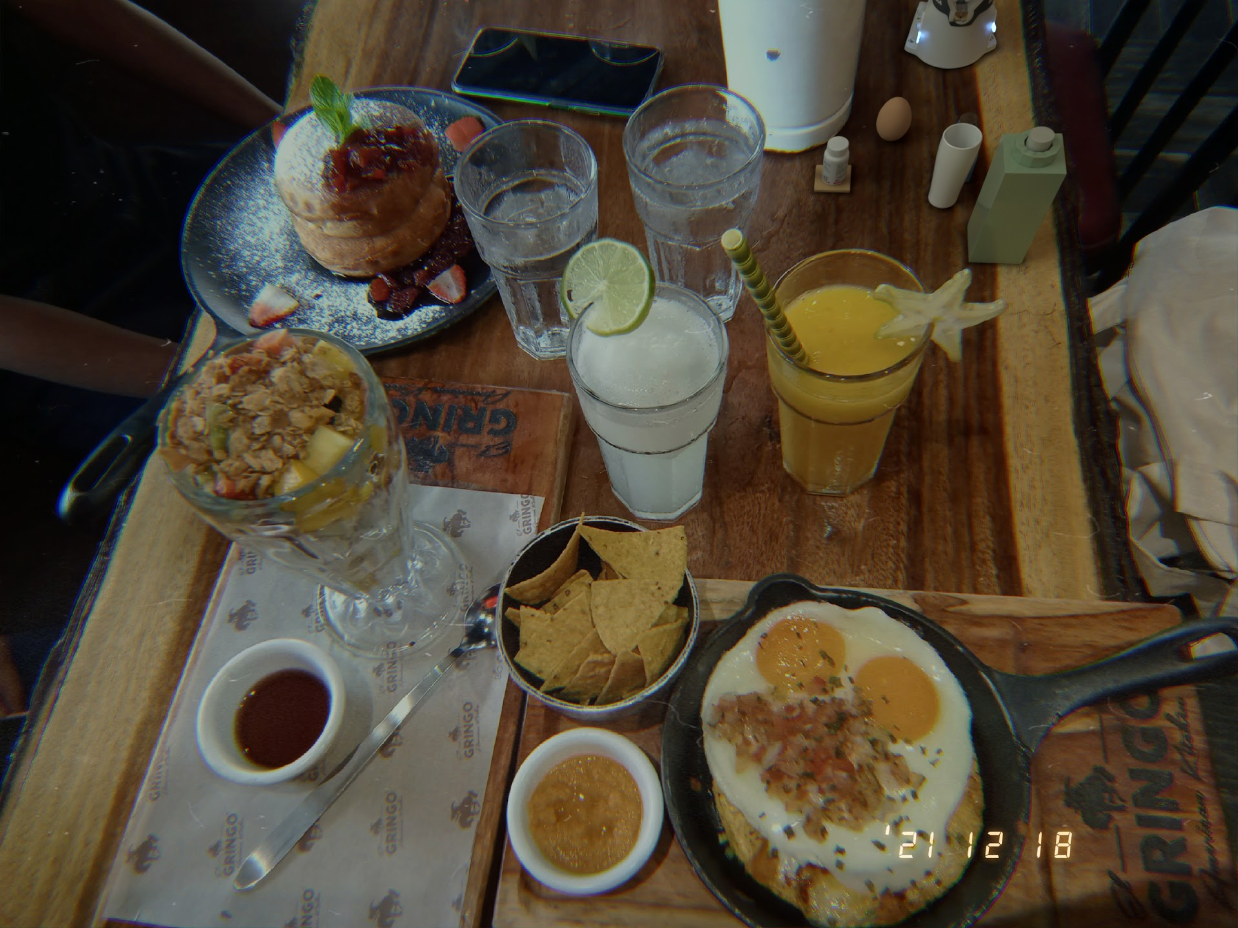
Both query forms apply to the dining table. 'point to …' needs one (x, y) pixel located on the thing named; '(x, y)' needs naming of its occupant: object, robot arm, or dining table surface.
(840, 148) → the pill bottle
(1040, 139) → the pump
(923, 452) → the dining table surface
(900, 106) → the egg
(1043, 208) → the dispenser
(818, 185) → the mat
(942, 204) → the drinking glass
